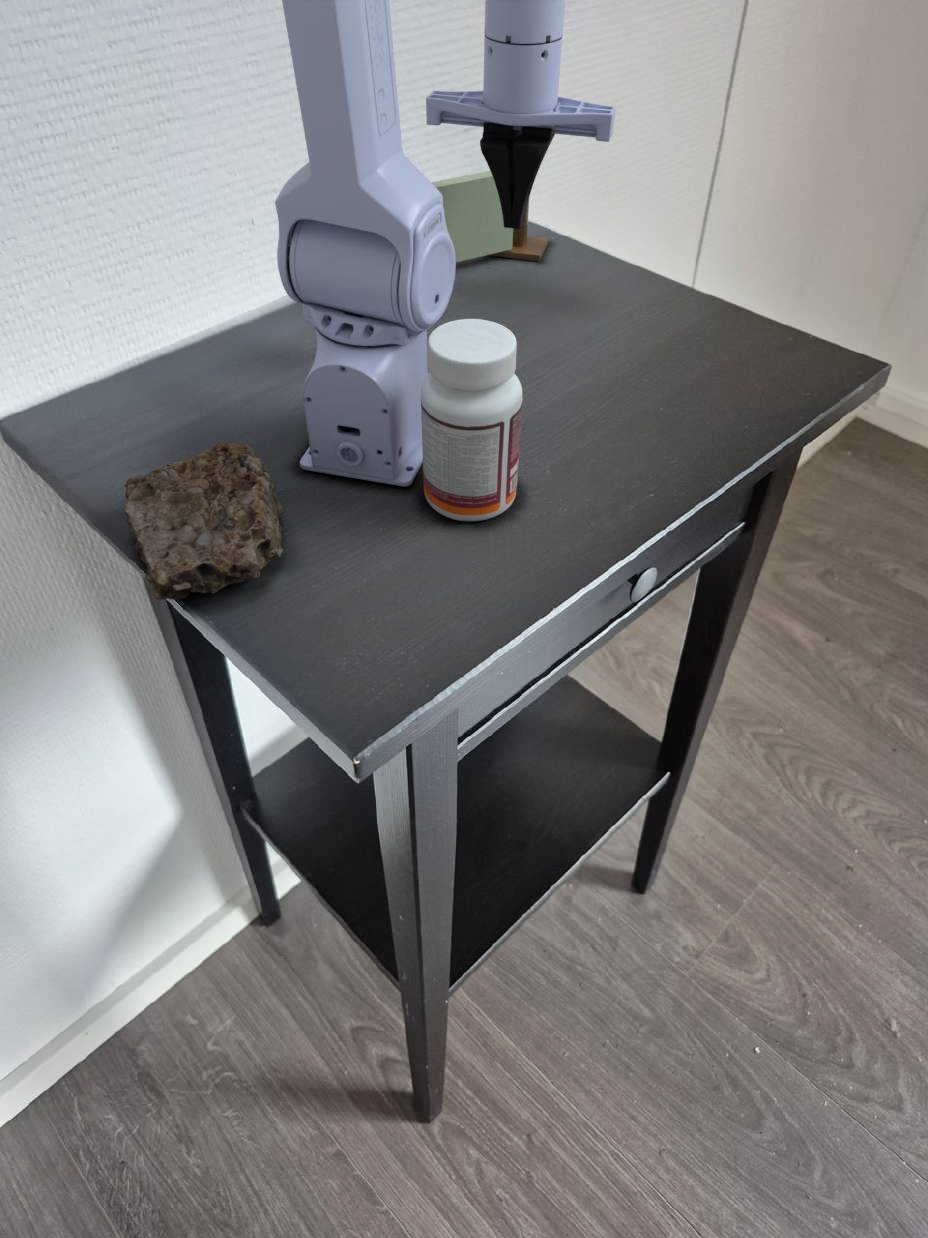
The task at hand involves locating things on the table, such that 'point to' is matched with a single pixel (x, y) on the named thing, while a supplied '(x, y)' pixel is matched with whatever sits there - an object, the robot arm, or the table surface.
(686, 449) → the table surface
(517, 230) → the wooden stand
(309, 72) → the robot arm
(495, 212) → the door
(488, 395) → the pill bottle
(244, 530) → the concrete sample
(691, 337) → the table surface
